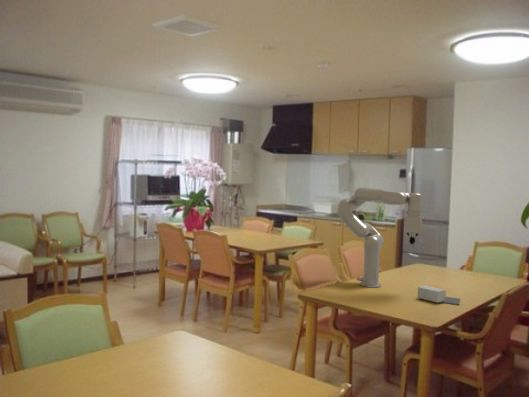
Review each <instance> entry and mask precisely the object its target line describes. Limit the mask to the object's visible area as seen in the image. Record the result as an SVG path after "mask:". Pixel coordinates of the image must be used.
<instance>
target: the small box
mask: <svg viewBox="0 0 529 397" xmlns="http://www.w3.org/2000/svg"><path fill="white" fill-rule="evenodd" d="M446 292H447V290H446V289H442V288H438V287H434V286H429V285H421V286H417V298H418V299H422V300H424V301H425V300H429V301H428V302H431V301H433V303H439V302H442V301H445V297H447V296H446V295H447V294H446Z"/></svg>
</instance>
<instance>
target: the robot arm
mask: <svg viewBox="0 0 529 397" xmlns="http://www.w3.org/2000/svg"><path fill="white" fill-rule="evenodd" d="M367 202H368V203H376V204H377V203H378V204H387V205H396V206H401V205H403V206H404V205H407V210H406V211H405V212H404V214H406V215H405V219H404V223H403V224H404V225H403V234H405V235H407V236H408V237H409V241H408V243H410V245H414V244H415V243H416V237H418V236H421V235H423V233H422V231H423V219H422V216H421V213H422V212H421V211H422V210H421V207H422V194H421V193H419V192H418V193H416V192H411V193H409V192H404V191H400V192H398V191H387V190H382V189H380V188H369V187H358V188H356V189H355V191H354V193H353V195H352V196H351V197H349V198H343V199H342V200H340V201H339V203H338V205H337V209H336V210H337V214H338V217H339V218H340V220H341V221H342V222H343V223H344V224H345V226H347V228H349V230H350V231H351V232H352V233H353V234H354V235H355V236H356V237H357V238H359V239H364V242H363V248H364V249H363V252H364V254H363V255H364V256H363V257H364V258H363V277H362V276H361V277H357V276H356V281H358V282H360V286H363V287H366V288H367V287H368V288H380V287H381V286H382V284H381V283H380V281H379V278H380V260H381V258H380V254H381V253H380V249H381V248H383V247H384V245H385V239H384V237H383V236H382V235H381V233H379V231H377V229H376V228H374V226H373V225H371V224H370V223H368V222H362V220H361V219H360V218H359V217H358V216H357V215H355V214H354V213H353V212H354V211H355V210H357V209H358V208H360V207H361V206H362V205H364V204H365V203H367ZM412 233H413V234H412Z"/></svg>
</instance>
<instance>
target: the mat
mask: <svg viewBox="0 0 529 397" xmlns="http://www.w3.org/2000/svg"><path fill="white" fill-rule="evenodd" d="M424 301H426V302H433V301H429V300H425V299H424ZM460 302H461V298H459V297H450V296H445V301H442V302H438V303H440V304H446V305H447V304H448V305H452V306H453V305H454V306H460ZM433 303H434V302H433Z"/></svg>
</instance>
